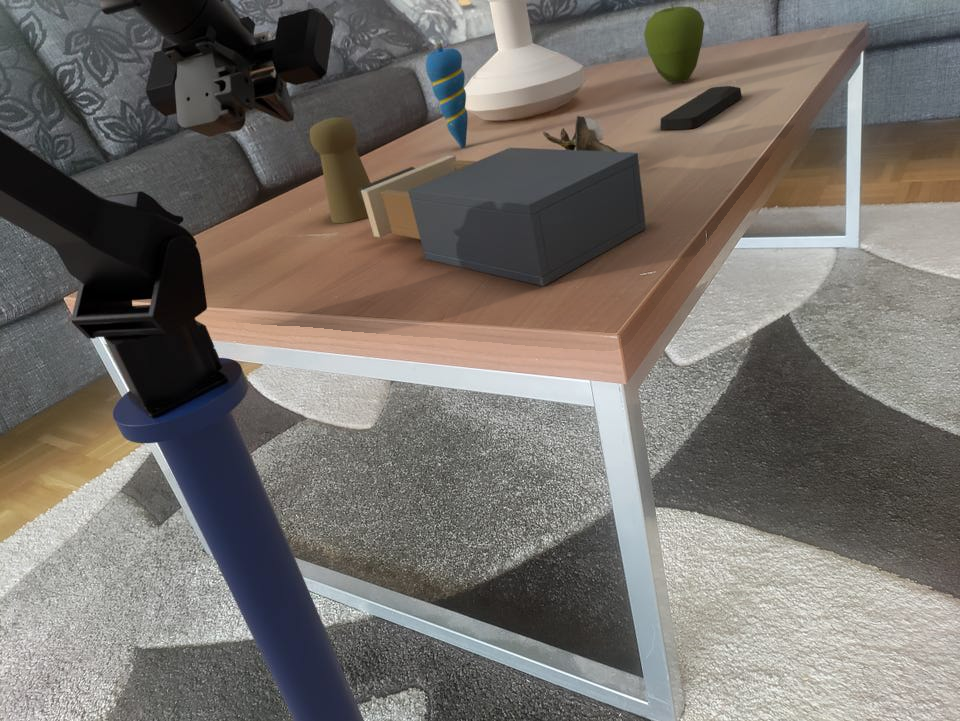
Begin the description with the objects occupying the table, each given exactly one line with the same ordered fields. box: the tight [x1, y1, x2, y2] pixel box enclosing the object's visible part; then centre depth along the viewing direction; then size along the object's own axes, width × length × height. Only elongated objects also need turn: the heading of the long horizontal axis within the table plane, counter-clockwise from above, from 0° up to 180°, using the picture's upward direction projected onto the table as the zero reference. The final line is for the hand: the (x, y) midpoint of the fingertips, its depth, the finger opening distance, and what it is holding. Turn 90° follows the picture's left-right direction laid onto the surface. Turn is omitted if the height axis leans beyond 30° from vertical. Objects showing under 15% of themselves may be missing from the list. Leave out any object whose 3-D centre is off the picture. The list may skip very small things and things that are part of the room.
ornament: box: [425, 37, 469, 149], centre depth 106 cm, size 5×5×15 cm
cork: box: [309, 116, 371, 224], centre depth 87 cm, size 6×6×11 cm
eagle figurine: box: [542, 115, 618, 152], centre depth 83 cm, size 8×7×9 cm
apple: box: [643, 2, 705, 84], centre depth 115 cm, size 9×8×12 cm
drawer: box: [358, 155, 478, 240], centre depth 75 cm, size 19×11×5 cm, turn 41°
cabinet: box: [408, 147, 647, 287], centre depth 66 cm, size 16×13×7 cm
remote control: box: [659, 85, 743, 131], centre depth 97 cm, size 5×2×15 cm
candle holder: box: [464, 0, 586, 122], centre depth 119 cm, size 20×20×19 cm
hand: (290, 117), depth 76 cm, fingers closed
